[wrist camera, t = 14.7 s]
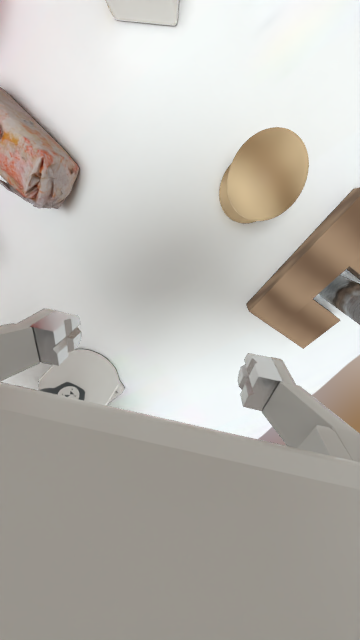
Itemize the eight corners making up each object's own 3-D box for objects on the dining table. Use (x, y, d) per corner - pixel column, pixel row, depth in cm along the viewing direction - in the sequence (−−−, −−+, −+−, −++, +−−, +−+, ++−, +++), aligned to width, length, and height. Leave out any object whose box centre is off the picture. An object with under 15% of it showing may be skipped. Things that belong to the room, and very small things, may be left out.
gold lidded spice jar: (326, 303, 32) (374, 340, 23) (314, 286, 31) (358, 317, 22) (352, 288, 31) (415, 321, 21) (340, 269, 30) (400, 295, 20)
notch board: (296, 339, 36) (303, 348, 33) (246, 304, 34) (249, 311, 32) (414, 243, 27) (436, 246, 24) (353, 188, 25) (369, 185, 22)
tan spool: (251, 234, 29) (267, 242, 20) (207, 201, 28) (205, 195, 19) (294, 178, 25) (336, 159, 17) (246, 138, 24) (264, 93, 15)
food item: (90, 168, 28) (37, 147, 20) (68, 213, 32) (14, 213, 23) (4, 81, 25) (-105, 11, 17) (-11, 142, 29) (-107, 111, 20)
